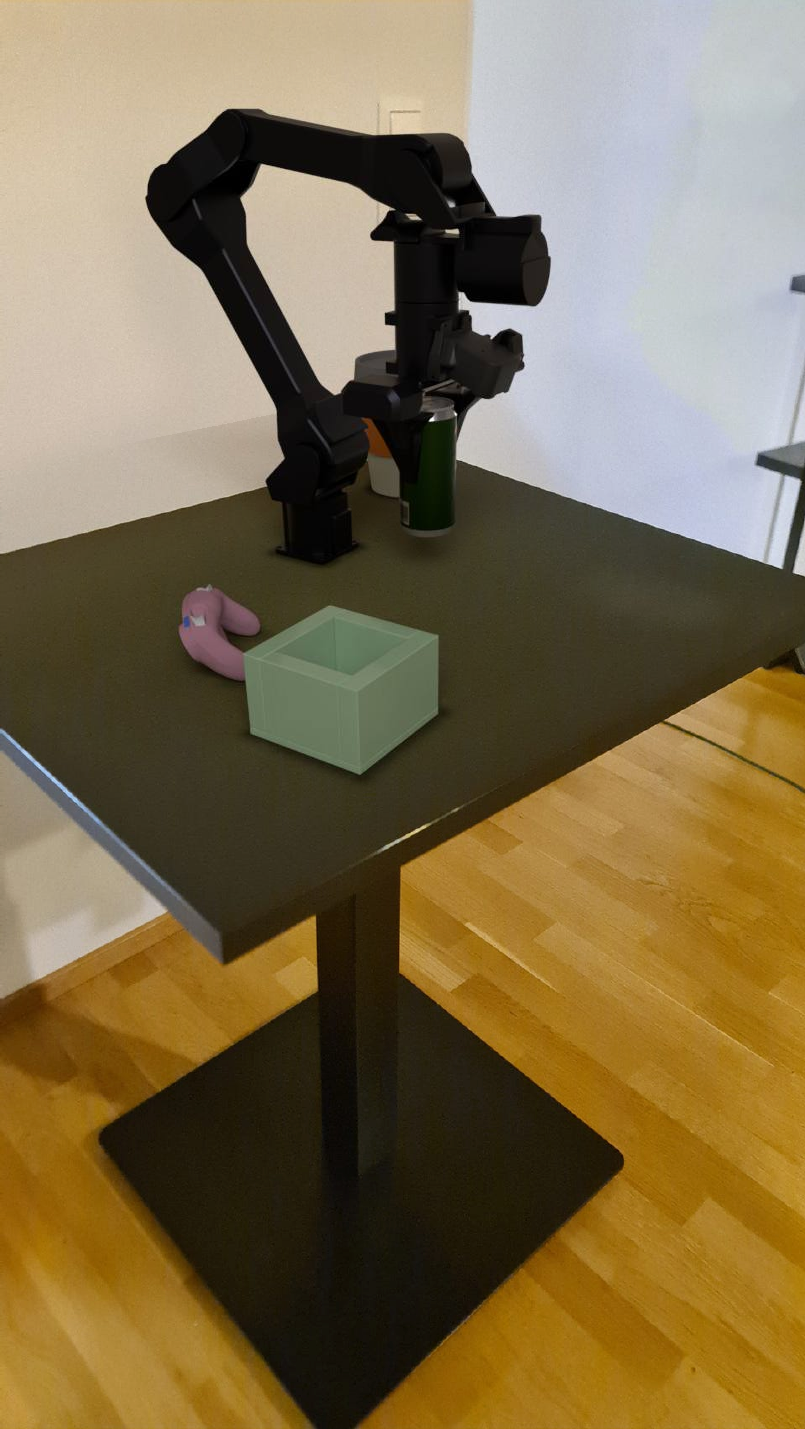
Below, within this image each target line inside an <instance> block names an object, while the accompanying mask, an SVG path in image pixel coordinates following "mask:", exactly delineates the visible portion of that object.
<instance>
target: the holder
mask: <svg viewBox="0 0 805 1429" xmlns="http://www.w3.org/2000/svg"><path fill="white" fill-rule="evenodd" d="M439 638H440V637H439V634H435V633H432V632H427V631H424V630H420V629H417V628H413V627H410V626H406V625H402V624H399V623H395V622H392V621H389V620H385V619H382V618H378V617H374V616H371V615H367V614H364V613H360V612H357V611H353V610H349V609H345V608H342V607H339V606H335V605H331V604H329V605H327V606H325V607H324V608H322V609H320V610H318V611H316V612H315V613H312V614H311V615H309V616H307V617H306V618H304V619H302V620H300V621H298V622H297V623H295V624H293V625H291V626H290V627H288V628H286V629H284V630H283V631H281V632H279V633H277V634H275V635H274V636H271V637H270V638H268V639H266V640H264V641H263V642H261V643H260V644H257V645H256V646H254V647H252V648H251V649H249V650H246V651H245V652H244V653H243V661H244V671H245V681H244V682H245V689H246V691H245V692H246V698H247V699H246V700H247V710H248V711H247V712H248V719H249V731H250V732H249V733H250V735H252V736H256V737H258V738H260V739H263V740H265V741H268V742H271V743H274V744H277V745H279V746H282V747H284V748H287V749H290V750H292V751H296V752H297V753H301V754H304V755H306V756H308V757H311V758H314V759H317V760H318V761H323V762H325V763H327V764H331V765H332V766H335V767H337V768H340V769H343V770H346V771H348V772H351V773H354V774H357V775H358V776H361V775H362V774H363V773H364V772H366V771H367V770H369V769H370V768H371V767H372V766H374V765H375V764H376V763H378V762H379V761H380V760H381V759H383V758H384V757H385V756H387V755H388V754H389V753H390V752H391V751H393V750H394V749H395V748H397V747H398V746H399V745H400V744H402V743H403V742H404V741H405V740H407V739H408V738H410V737H411V736H412V735H413V734H414V733H416V732H417V731H418V730H420V729H421V728H422V727H423V726H425V725H426V724H427V723H429V722H430V721H432V719H433V718H435V717H437V715H439V652H440V650H439V649H440V648H439V647H440V646H439V640H440V639H439Z"/></svg>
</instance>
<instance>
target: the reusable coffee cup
mask: <svg viewBox="0 0 805 1429" xmlns="http://www.w3.org/2000/svg"><path fill="white" fill-rule="evenodd" d="M393 359H395V349H386V350H378V351H372V352H367V353H363V354H361V355H359V356H357V357H356V358H355V359H354V369H353V370H354V372H353V379H357V378H360V377H363V376H366V375H369V374H378V375H385V376H393V377H398V375H394V374H387V373H386V361H390V360H393ZM420 384H421V382H419V385H420ZM361 418H362V417H361ZM362 419H363V420H364V421H365V422H366V423H367V424H368V425H369V428H367V429H365V431H366V433H367V436H368V439H369V442H370V449H369V452H368V458H367V465H368V471H369V478H370V485H371V489H372V491H374V492H375V493H377V494H379V495H383V496H386V497H391V498H399V469H398V467H397V465H396V463H395V461H394V459H393V457H392V455H391V453H390V451H389V449H388V448H387V446H386V444H385V442H384V440H383V438H382V437H381V435H380V433H379V432H378V430H377V428H376V427H375V425H374V423H373V422H372V420H371V419H368V418H362Z"/></svg>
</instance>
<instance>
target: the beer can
mask: <svg viewBox="0 0 805 1429" xmlns="http://www.w3.org/2000/svg"><path fill="white" fill-rule="evenodd" d="M454 406H455V403H454V401H453V400H451V399H447V398H442V397H423V411H426V412H433V413H435V415H434V416H433V417H432V418H431V419H430V421H429V422H428V423H427V424H426V425H425V426H424V427H423V429H422V435H421V448H420V460H419V471H418V477H417V482H416V484H407V483H405V481H404V480H403V478H402V476H401V474H400V471H399V497H398V498H399V503H398V504H399V523H400V526H401V528H402V530H403V532H404V533H406V534H407V535H410V536H413V537H418V538H437V537H443V536H446V535H448V534H450V533H451V532H452V530H453V528H454V525H455V524H456V510H457V509H456V508H457V506H456V505H457V501H456V500H457V446H458V445H457V444H458V441H457V413H456V411H455V409H454Z"/></svg>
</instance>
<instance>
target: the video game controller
mask: <svg viewBox="0 0 805 1429" xmlns="http://www.w3.org/2000/svg"><path fill="white" fill-rule="evenodd" d="M181 605H182V606H181V619H182V623H181V624H179V626H178V633H179V637H180V640H181V642H182V643H183V646H184V648H185V650H186V651H187V652H188V654H189V655H190V657H191V658H192V659H193V660H194V661H196V662H197V663H200V664H203V665H204V666H206V667H207V668H209V669H211V670H212V671H214V672H215V673H217V674H219V675H221V676H223V677H225V678H228V679H230V680H235V681H236V682H237V681H238V682H246V681H245V671H244V661H243V653H245V652H244V651H242V650H240V649H239V648H238V647H236V646H234V645H233V644H231V643H230V642H229V640H228V637H227V635H226V633H225V631H227V632H230V633H232V634H234V635H238V636H244V637H245V636H246V637H253V636H256V635H257V634H258V633H259V632H260V629H261V624H260V620H259V618H258V617H257V615H256V614H255V613H253V612H252V611H251V610H250V609H248V608H247V607H245V606H243V605H241V604H239V603H238V602H236V601H234V600H233V599H231V598H230V597H229V596H227V595H226V594H225V593H224V592H223V591H221V590H220V589H218V588H216V587H213V586H212V585H211V583H209V584H208V585H207V586H206V588H204V587H197V588H196V589H194V590H192V591H190V592H189V593H187V594H186V595H185V596H184V598H183V601H182V604H181ZM224 630H225V631H224Z"/></svg>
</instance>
